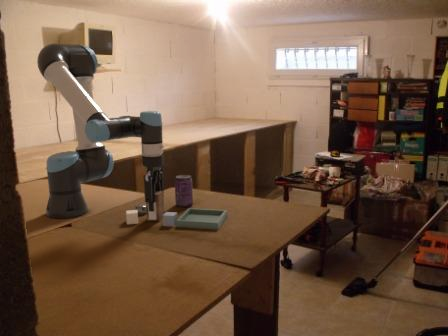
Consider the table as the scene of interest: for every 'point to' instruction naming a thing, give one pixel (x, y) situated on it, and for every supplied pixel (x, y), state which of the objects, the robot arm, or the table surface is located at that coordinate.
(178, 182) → the beverage can
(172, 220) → the slate-blue block
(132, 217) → the cream cube
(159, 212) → the walnut block
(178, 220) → the tray
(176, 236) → the table surface
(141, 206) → the grey metal puck
